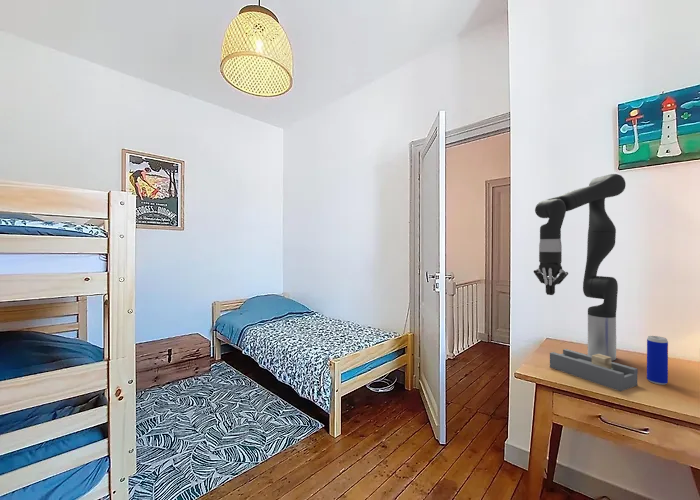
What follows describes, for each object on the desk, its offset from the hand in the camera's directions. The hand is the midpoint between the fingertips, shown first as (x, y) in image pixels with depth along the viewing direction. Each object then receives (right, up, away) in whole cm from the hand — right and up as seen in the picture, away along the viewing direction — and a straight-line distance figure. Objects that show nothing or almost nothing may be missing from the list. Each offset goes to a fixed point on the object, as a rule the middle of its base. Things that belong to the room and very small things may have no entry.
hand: (550, 294), depth 129 cm
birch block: (+8, -23, -16) cm, 29 cm away
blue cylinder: (+25, -27, -19) cm, 41 cm away
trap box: (+7, -27, -13) cm, 31 cm away
